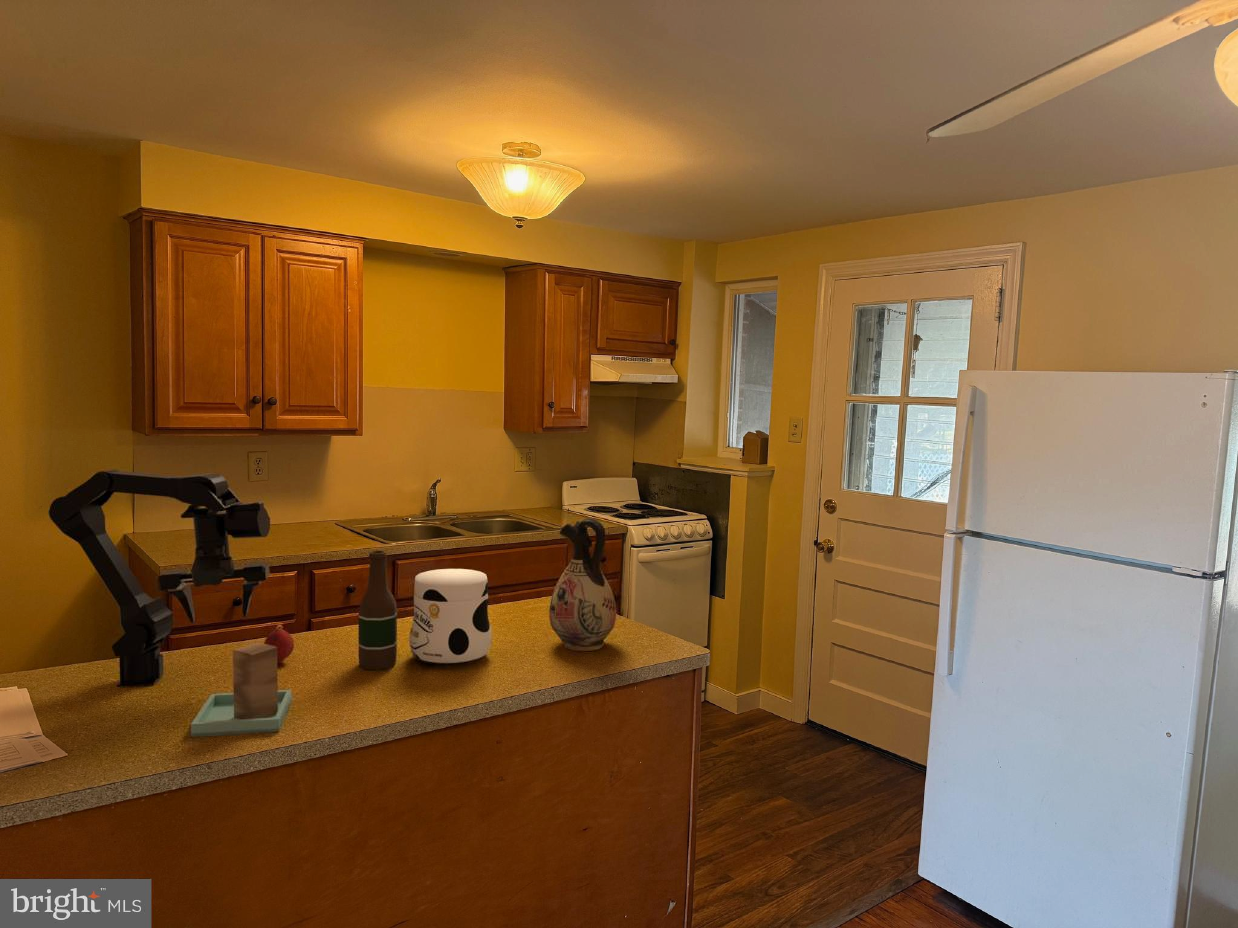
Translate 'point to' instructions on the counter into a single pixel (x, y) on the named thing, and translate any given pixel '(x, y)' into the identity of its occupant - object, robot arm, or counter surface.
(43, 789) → the counter surface
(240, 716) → the walnut block
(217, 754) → the counter surface
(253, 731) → the teal tray
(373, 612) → the beer bottle
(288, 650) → the onion
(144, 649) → the robot arm
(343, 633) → the counter surface
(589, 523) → the ceramic jug
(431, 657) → the milk container
